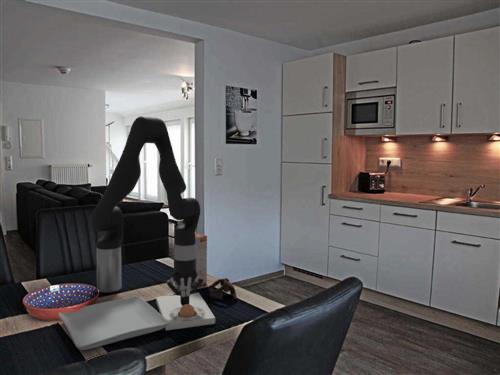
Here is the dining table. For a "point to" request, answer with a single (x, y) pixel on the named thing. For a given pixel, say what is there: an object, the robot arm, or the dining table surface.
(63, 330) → the dining table surface
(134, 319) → the square plate
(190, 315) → the ball
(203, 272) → the cracker box
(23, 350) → the dining table surface
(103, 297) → the dining table surface
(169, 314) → the white flat slab
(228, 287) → the brown openwork arch
